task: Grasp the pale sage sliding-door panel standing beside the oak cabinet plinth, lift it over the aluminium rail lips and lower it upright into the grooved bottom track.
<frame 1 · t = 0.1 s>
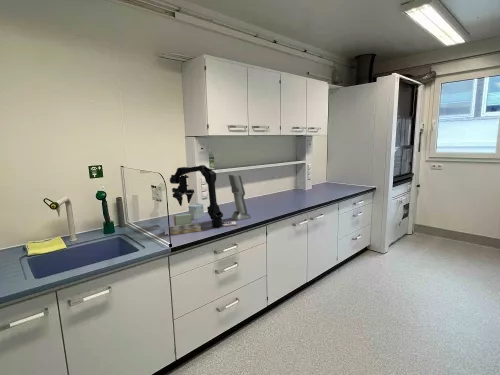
hand: (184, 204, 202), 15 cm above the countertop, fingers open, 9 cm apart
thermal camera: (240, 217, 213), on the countertop
light bulb box: (196, 217, 219), on the countertop
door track: (183, 231, 185), on the countertop
door panel: (183, 227, 194), on the countertop
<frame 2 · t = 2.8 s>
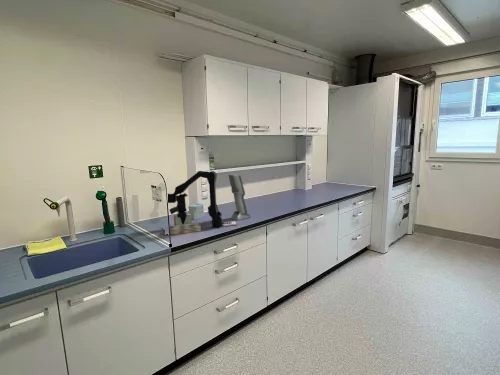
hand: (183, 223, 194), 3 cm above the countertop, fingers closed on door panel, 2 cm apart
door panel: (183, 227, 194), on the countertop, touching gripper
everything else where it was.
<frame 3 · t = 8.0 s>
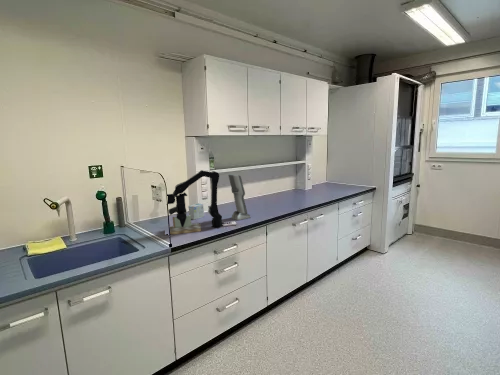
hand: (182, 224, 184), 5 cm above the countertop, fingers open, 9 cm apart
door panel: (182, 229, 184), point 1 cm above the countertop, touching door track
everything else where it was.
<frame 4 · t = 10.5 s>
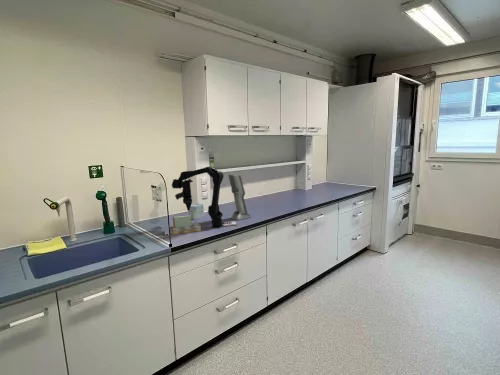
hand: (188, 209, 196), 12 cm above the countertop, fingers open, 9 cm apart
nothing on the countertop moved.
at the end: door panel 0.1 cm off-centre on the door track, point 1.5 cm above the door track's base; door panel tilted 0°; the gripper is holding nothing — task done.
